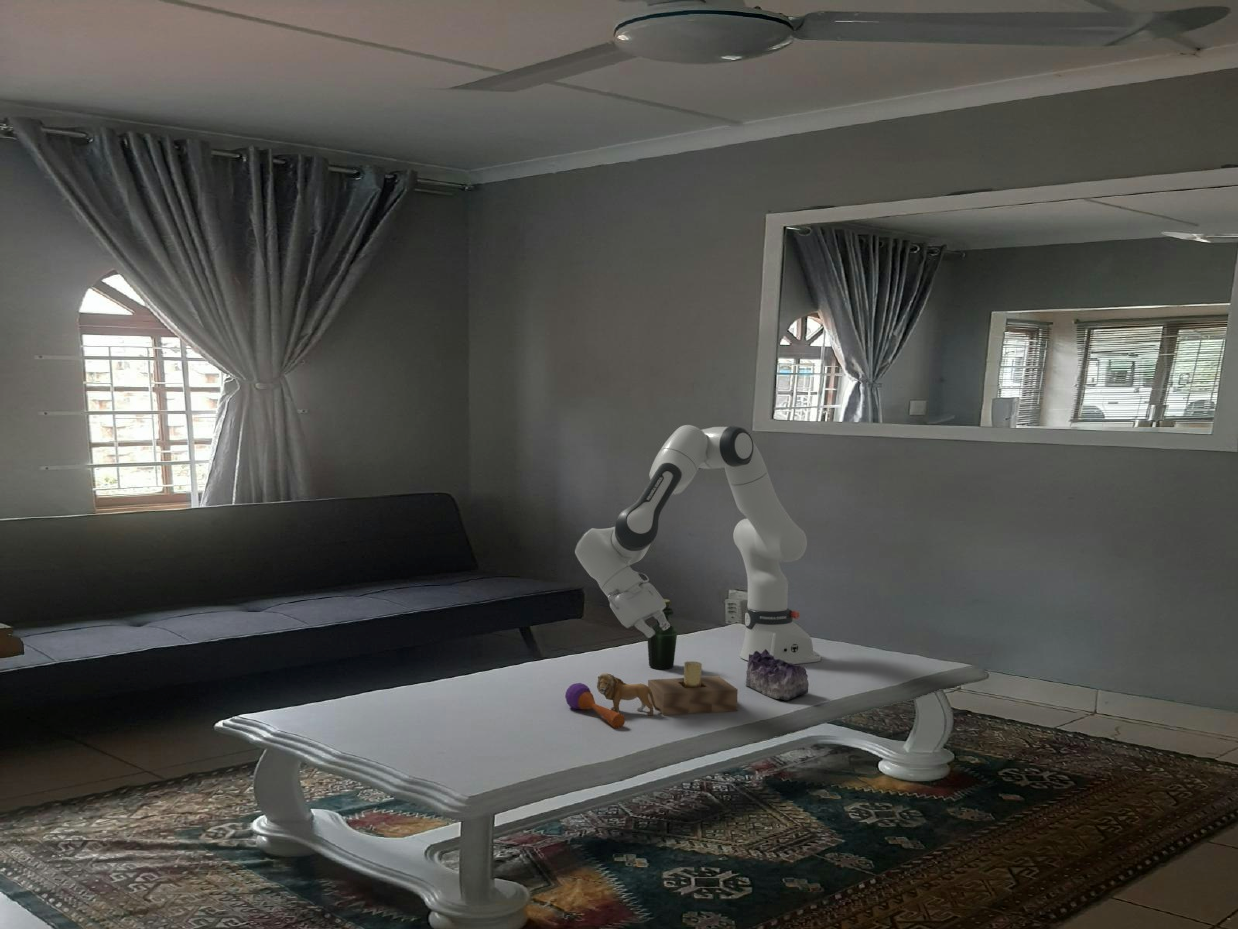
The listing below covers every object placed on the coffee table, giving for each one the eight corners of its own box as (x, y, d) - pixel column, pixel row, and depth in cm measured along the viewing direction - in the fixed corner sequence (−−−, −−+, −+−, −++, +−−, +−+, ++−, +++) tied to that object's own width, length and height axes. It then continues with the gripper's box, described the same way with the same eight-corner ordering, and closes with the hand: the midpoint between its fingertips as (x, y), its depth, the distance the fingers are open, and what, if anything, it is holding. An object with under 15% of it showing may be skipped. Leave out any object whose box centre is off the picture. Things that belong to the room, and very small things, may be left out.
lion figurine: (596, 715, 243) (597, 676, 242) (595, 708, 248) (596, 670, 247) (661, 716, 243) (662, 677, 243) (659, 709, 249) (660, 671, 248)
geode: (727, 684, 272) (731, 645, 273) (763, 685, 278) (767, 647, 278) (777, 702, 255) (782, 660, 255) (814, 702, 260) (819, 661, 261)
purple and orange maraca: (605, 713, 232) (559, 684, 248) (608, 738, 233) (562, 708, 250) (628, 704, 235) (581, 676, 251) (631, 729, 236) (584, 700, 253)
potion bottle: (682, 667, 287) (684, 601, 286) (660, 672, 282) (661, 604, 281) (662, 661, 294) (663, 596, 292) (639, 666, 288) (641, 599, 287)
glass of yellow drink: (697, 702, 255) (698, 661, 254) (702, 707, 251) (703, 665, 250) (681, 703, 254) (682, 661, 253) (686, 708, 250) (687, 666, 249)
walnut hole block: (718, 696, 260) (719, 676, 260) (737, 710, 249) (737, 689, 249) (647, 700, 256) (648, 679, 255) (663, 715, 244) (663, 693, 244)
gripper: (614, 585, 247) (652, 632, 244) (648, 573, 266) (684, 616, 263) (596, 602, 250) (633, 649, 246) (631, 589, 268) (666, 632, 265)
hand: (660, 632), depth 255 cm, fingers open, 8 cm apart
